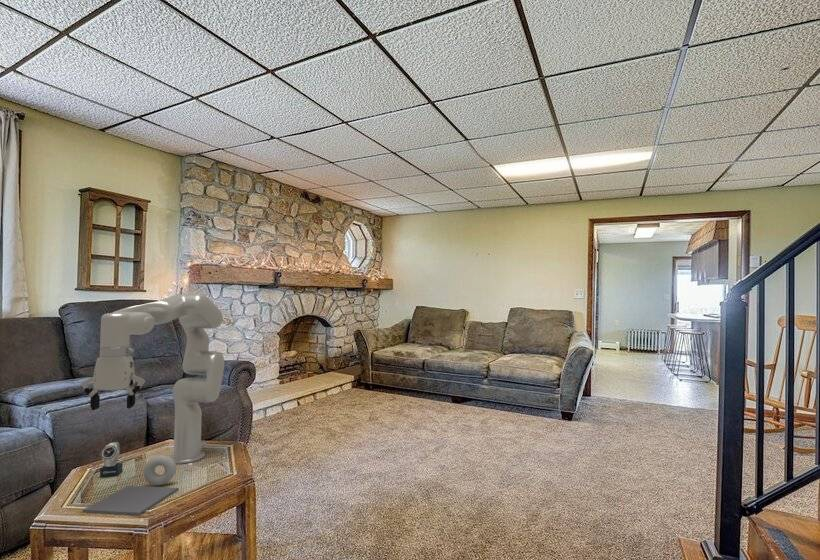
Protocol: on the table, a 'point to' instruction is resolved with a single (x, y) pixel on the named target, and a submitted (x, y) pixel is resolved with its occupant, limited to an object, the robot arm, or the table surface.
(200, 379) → the robot arm
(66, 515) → the table surface
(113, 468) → the watch
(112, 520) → the table surface
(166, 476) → the donut
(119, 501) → the mat
